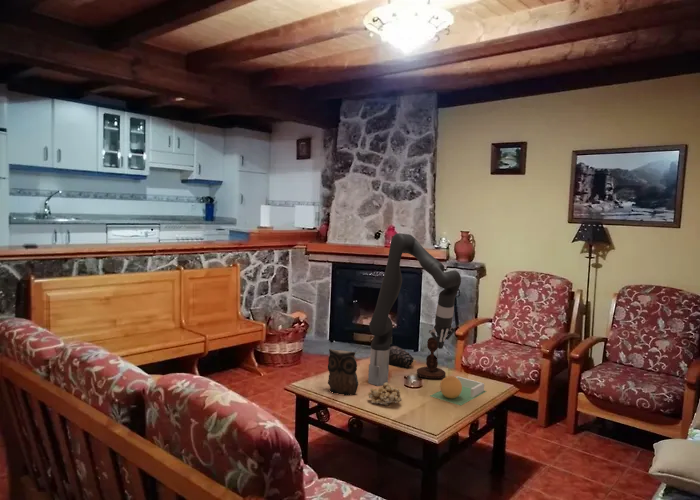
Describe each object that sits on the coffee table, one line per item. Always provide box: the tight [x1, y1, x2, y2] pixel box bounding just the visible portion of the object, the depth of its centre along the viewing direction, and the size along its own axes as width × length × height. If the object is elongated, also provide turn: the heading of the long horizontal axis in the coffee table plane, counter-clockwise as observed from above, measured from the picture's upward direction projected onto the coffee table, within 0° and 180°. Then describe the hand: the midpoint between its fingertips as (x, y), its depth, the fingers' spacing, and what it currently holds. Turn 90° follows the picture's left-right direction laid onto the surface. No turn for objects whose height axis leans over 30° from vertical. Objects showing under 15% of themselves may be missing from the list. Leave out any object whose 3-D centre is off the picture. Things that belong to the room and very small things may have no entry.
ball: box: [439, 375, 462, 399], centre depth 237 cm, size 10×10×10 cm
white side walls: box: [455, 375, 485, 398], centre depth 248 cm, size 12×14×4 cm
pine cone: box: [389, 345, 415, 370], centre depth 285 cm, size 10×18×10 cm, turn 54°
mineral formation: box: [367, 382, 403, 406], centre depth 228 cm, size 8×13×15 cm
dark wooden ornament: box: [416, 336, 446, 381], centre depth 267 cm, size 15×15×20 cm
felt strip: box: [429, 386, 487, 407], centre depth 243 cm, size 26×16×1 cm, turn 140°
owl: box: [327, 348, 359, 396], centre depth 239 cm, size 13×13×20 cm
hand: (439, 347), depth 235 cm, fingers closed
